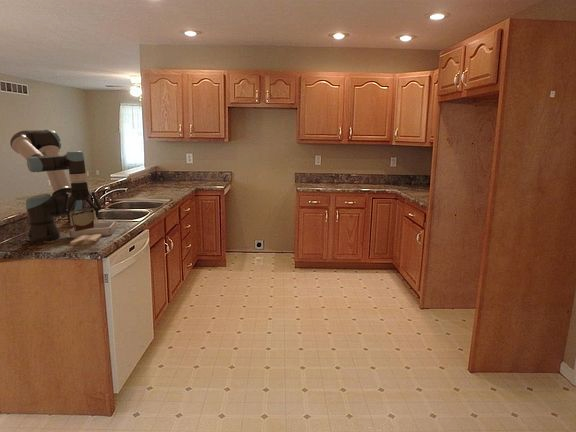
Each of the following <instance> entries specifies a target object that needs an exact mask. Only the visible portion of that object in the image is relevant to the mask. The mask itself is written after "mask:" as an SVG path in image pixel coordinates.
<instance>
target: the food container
mask: <svg viewBox="0 0 576 432" xmlns="http://www.w3.org/2000/svg"><path fill="white" fill-rule="evenodd" d="M94 211H95V210H94V209H93V208H89V207H87V208H84V209H78V210H73V211H71V212H70V217H72V221H73V227H74V229H75V231H76V232H77V231H82V230H86V229H91V228H94V223H95V219H94Z"/></svg>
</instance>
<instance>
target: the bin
mask: <svg viewBox="0 0 576 432" xmlns="http://www.w3.org/2000/svg"><path fill="white" fill-rule="evenodd" d="M116 229H117V221H101V222H99V221H98V223H97V224H95V222H94V228H91V229H86V230H82V231H77V232H76V231H75V229H74V226H72V228H71V229H69V230H68V232H69V233H68V234H69V237H70V239H74V238H75V237H77V236H78V235H88V234H100V233H102V235H103V236H112V234H113V233H114V232H115V231H116Z"/></svg>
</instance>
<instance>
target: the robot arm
mask: <svg viewBox="0 0 576 432" xmlns="http://www.w3.org/2000/svg"><path fill="white" fill-rule="evenodd" d="M9 143H10V147H11V149H12V150H13V151H14V153H17V154H20V155H21V156H22V157H23V159H25V160H26V166H27V169H28V171H29V172H30V173H43V172H46V173H47V177H48V179H49V182H50V185H51V188H52V190H53V192H52V193H51V194H50V193H41V194H37V195H33V196H30V197H28V198H26V199H25V209H26V213H27V218H28V219H27V220H28V224H29V226H28V232H27V237H26V238H27V241H28V242H29V241H30V242H31V243H38V242H39V243H40V242H41V243H42V242H49V241H54V240H56V239H59V238H60V237H61V232H60V230H59V228H58V226H57V224H56V223H55V218H58V217H59V218H61V217H65V216H66V217H67V215H68V218H67V220H68V219H70V221H71V222H70V221H69V222H70V226H71V227H74V225H73V221H72V217H70V212H71V211H73V210H78V209H82V200H83V201H86V202H87V204H89V206H90V207H91V209H94V223H95V224H97V223H99V221H98V218H99V217H100V212H99V211H101V210H102V209H103V207H102V205H101V203H100V201H99V199H98V197H97V195H96V191H89V187H88V186H89V185H88V182H87V181H88V179H87V172H86V170H87V169H86V163H85V156H84V152H83V151H81V150H73V151H66V154H60V155H59V152H60V150H61V148H62V142H61V138H60V136H59V134H58V133H57V132H56V131H55V130H52V129H41V130H40V129H38V130H36V129H35V130H33V129H32V130H31V129H29V130H25V129H24V130H21V131H18V132H16V133H14V134H13V135H12V137H11V138H10V142H9ZM66 170H68V174H69V180H68V177H67V174H66V172H65V171H66ZM69 181H70V182H71V183H70V182H69ZM89 195H90V196H91V197H92V199H93V201H92V200H91V199H90V197H89Z"/></svg>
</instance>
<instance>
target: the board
mask: <svg viewBox="0 0 576 432" xmlns="http://www.w3.org/2000/svg"><path fill="white" fill-rule="evenodd" d="M102 237H103V236H102V233H100V234H88V235H78V236H77V237H75V238H72V240H71V241H70V242H69V245H70V246H71V247H72V246H81V245H93V244H97V243H98V242H99V240H100V239H101V238H102Z"/></svg>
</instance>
